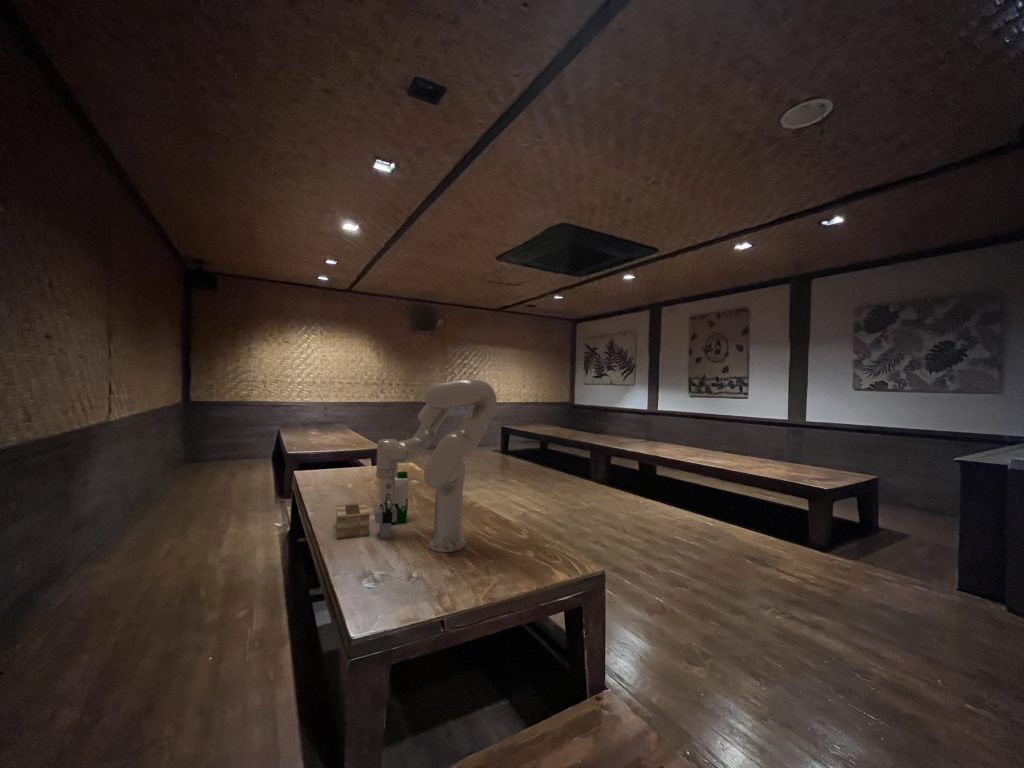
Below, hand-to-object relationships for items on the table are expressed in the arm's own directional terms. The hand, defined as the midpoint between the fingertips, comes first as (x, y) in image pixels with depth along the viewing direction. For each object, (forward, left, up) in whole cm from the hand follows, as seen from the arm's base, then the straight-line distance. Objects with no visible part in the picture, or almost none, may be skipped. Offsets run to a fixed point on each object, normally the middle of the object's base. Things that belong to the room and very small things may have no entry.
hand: (385, 518), depth 146 cm
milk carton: (+15, -6, -6) cm, 17 cm away
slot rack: (+10, +11, -6) cm, 16 cm away
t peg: (0, 0, -6) cm, 6 cm away
